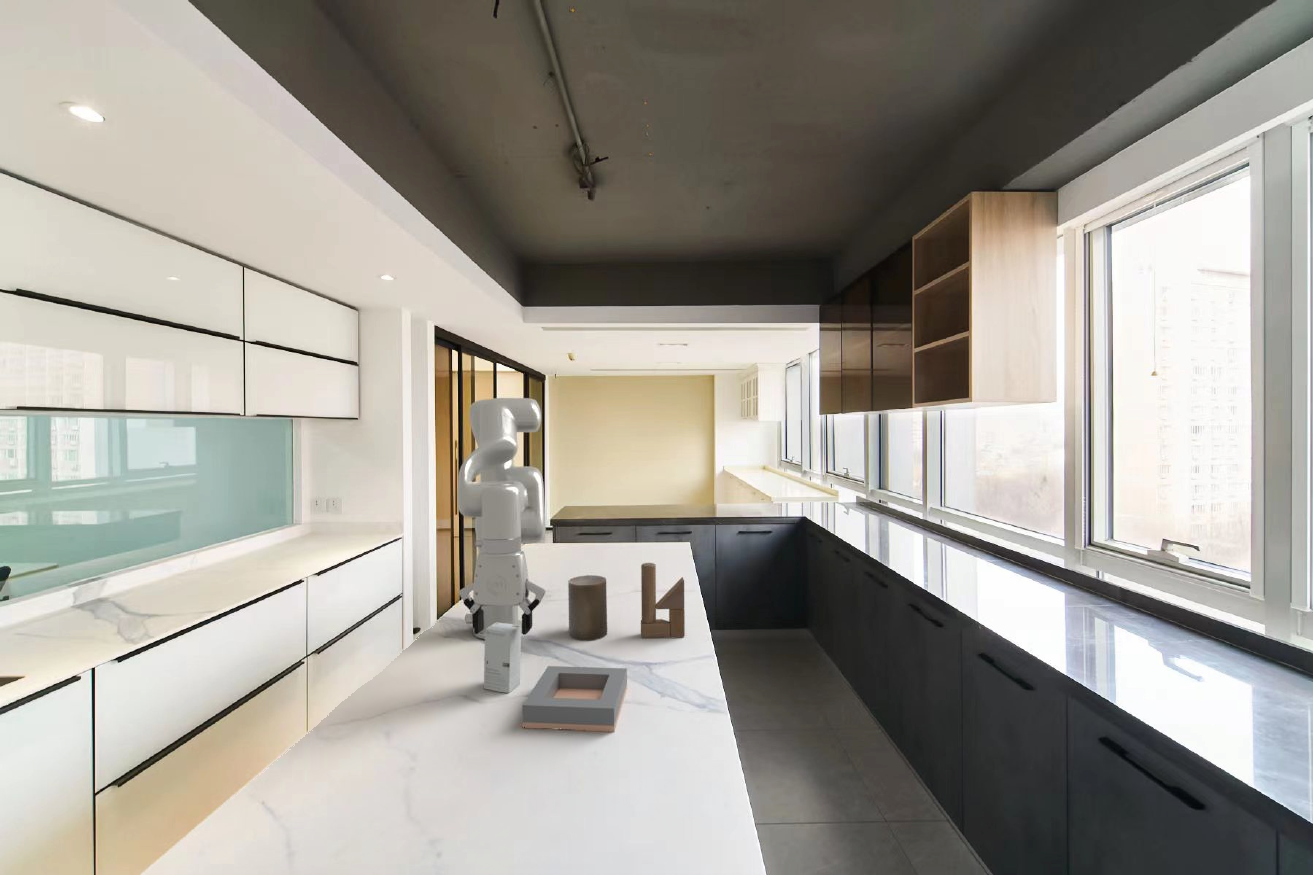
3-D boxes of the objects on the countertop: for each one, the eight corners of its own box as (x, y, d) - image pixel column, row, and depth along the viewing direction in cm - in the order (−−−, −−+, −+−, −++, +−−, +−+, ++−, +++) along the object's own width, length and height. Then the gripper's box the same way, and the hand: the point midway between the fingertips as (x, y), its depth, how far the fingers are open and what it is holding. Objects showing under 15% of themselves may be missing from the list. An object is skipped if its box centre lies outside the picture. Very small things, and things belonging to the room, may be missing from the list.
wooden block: (684, 637, 139) (684, 565, 138) (641, 638, 138) (640, 566, 138) (683, 632, 142) (682, 561, 142) (640, 633, 142) (640, 562, 141)
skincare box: (482, 689, 111) (482, 628, 111) (495, 679, 116) (495, 621, 116) (510, 693, 110) (509, 632, 109) (522, 683, 114) (521, 624, 114)
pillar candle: (614, 635, 140) (613, 575, 140) (579, 643, 135) (578, 581, 135) (595, 624, 148) (595, 568, 148) (561, 632, 143) (561, 573, 143)
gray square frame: (522, 727, 97) (522, 704, 97) (548, 685, 113) (548, 665, 113) (614, 731, 96) (614, 708, 96) (627, 688, 112) (626, 668, 112)
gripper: (451, 549, 109) (452, 637, 109) (538, 549, 108) (539, 639, 107) (467, 542, 117) (468, 625, 116) (549, 542, 115) (550, 626, 115)
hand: (502, 632), depth 112 cm, fingers open, 9 cm apart
